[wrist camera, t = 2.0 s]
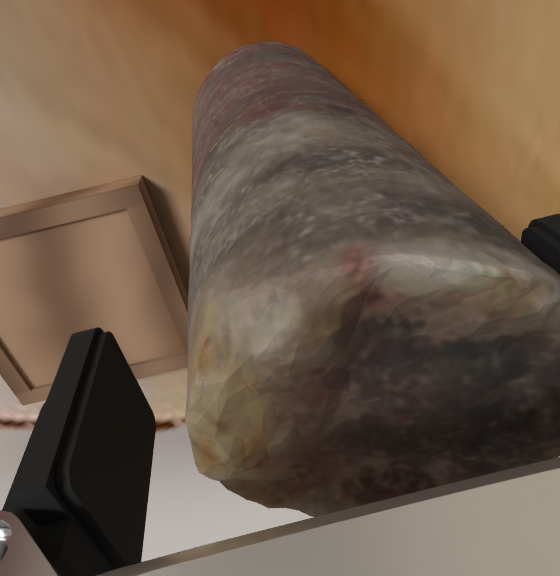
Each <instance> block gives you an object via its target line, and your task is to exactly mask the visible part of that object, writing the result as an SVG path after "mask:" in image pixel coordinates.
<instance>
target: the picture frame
mask: <svg viewBox="0 0 560 576" xmlns="http://www.w3.org/2000/svg"><path fill="white" fill-rule="evenodd" d="M97 327H99V328H101V329H102V330H103V331H104V332H107V331H110V332H111V333H112V334H113V335H114V337H115V339H116V341H117V343H118V345H119V347H120V349H121V351H122V353H123V355H124V357H125V358H126V360H127V362H128V364H129V366H130V368H131V370H132V372H133V374H134V376H135V378H136V379H137V378H141V377H146V376H150V375H154V374H158V373H163V372H167V371H171V370H175V369H180V368H184V367H188V295H187V293H186V290H185V288H184V285H183V282H182V280H181V277H180V274H179V272H178V269H177V267H176V264H175V261H174V259H173V256H172V253H171V251H170V248H169V246H168V243H167V240H166V238H165V235H164V232H163V230H162V227H161V225H160V222H159V219H158V217H157V214H156V211H155V209H154V206H153V204H152V201H151V198H150V196H149V193H148V190H147V188H146V185H145V183H144V180H143V177H142V175H140V176H136V177H132V178H128V179H124V180H120V181H115V182H111V183H107V184H103V185H99V186H95V187H91V188H86V189H82V190H78V191H74V192H70V193H66V194H62V195H57V196H53V197H49V198H45V199H41V200H37V201H33V202H28V203H24V204H20V205H16V206H12V207H8V208H3V209H0V375H1V376H2V378H3V379H4V380H5V382H6V383H7V384H8V386H9V387H10V389H11V390H12V391H13V393H14V394H15V395H16V397H17V398H18V399H19V401H20V402H21V404H22V405H27V404H31V403H35V402H40V401H44V400H47V397H48V395H49V392H50V389H51V387H52V384H53V381H54V379H55V376H56V374H57V371H58V368H59V366H60V363H61V360H62V358H63V355H64V353H65V350H66V347H67V345H68V342H69V339H70V337H71V335H72V334H73V333H76V332H80V331H84V330H88V329H92V328H97Z"/></svg>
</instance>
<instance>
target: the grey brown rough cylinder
mask: <svg viewBox="0 0 560 576" xmlns="http://www.w3.org/2000/svg"><path fill="white" fill-rule="evenodd" d="M185 421H186V425H187V429H188V434H189V437H190V440H191V446H192V451H193V456H194V460H195V464H196V466H197V468H198V471H199V473H201V474H203V475H204V476H206V477H208V478H210V479H213V480H217V481H220V482H221V483H222V484H223V485H224V486H225V487H226V488H227V489H228V490H230V491H232V492H234V493H236V494H238V495H240V496H242V497H243V498H245V499H247V500H250V501H253V502H257V503H259V504H261V505H263V506H265V507H267V508H289V509H295V510H299V511H301V512H303V513H305V514H308V515H309V516H312V517H318V516H322V515H326V514H330V513H334V512H338V511H342V510H346V509H350V508H354V507H358V506H362V505H366V504H370V503H374V502H378V501H382V500H386V499H390V498H394V497H398V496H402V495H406V494H410V493H414V492H418V491H422V490H426V489H430V488H435V487H439V486H443V485H447V484H451V483H455V482H459V481H463V480H467V479H471V478H475V477H479V476H483V475H487V474H491V473H496V472H500V471H504V470H508V469H512V468H516V467H520V466H525V465H529V464H533V463H537V462H541V461H545V460H549V459H554V458H557V457H559V456H560V275H559V274H558V273H557V272H556V271H555V270H554V269H552V268H551V267H550V266H548V265H547V264H545V263H544V262H542V261H541V260H540V259H539V258H538V257H537V256H535V255H534V254H533V253H532V252H531V251H530V250H529V249H528V248H527V247H525V246H524V245H523V244H522V243H521V242H520V241H519V240H518V239H517V238H515V237H514V236H513V235H512V234H511V233H510V232H509V231H508V230H507V229H506V228H505V227H503V226H502V225H501V224H500V223H499V222H498V221H497V220H495V219H494V218H493V217H492V216H491V215H489V214H488V213H487V212H486V211H485V210H483V209H482V208H481V207H480V206H479V205H477V204H476V203H475V202H474V201H473V200H471V199H470V198H469V197H468V196H467V195H466V194H464V193H463V192H462V191H461V190H459V189H458V188H457V187H456V186H455V185H453V184H452V183H451V182H450V181H449V180H448V179H447V178H446V177H445V176H444V175H443V174H442V173H440V172H439V171H438V170H437V169H436V168H435V167H433V166H432V165H431V164H430V163H429V162H428V161H427V160H426V159H425V158H424V157H423V156H422V155H421V154H420V153H419V152H418V151H417V150H416V149H415V148H414V147H413V146H412V145H411V144H409V143H408V142H407V141H405V140H404V139H403V138H401V137H400V136H398V135H397V134H396V133H395V132H394V131H393V130H392V129H391V128H389V127H388V126H387V125H386V124H385V123H384V122H383V121H382V120H381V119H380V118H379V117H378V116H377V115H376V114H375V113H374V112H373V111H371V110H370V109H369V108H368V107H367V106H366V105H365V104H364V103H362V102H361V101H360V100H359V99H358V98H357V97H356V96H355V95H354V94H353V93H352V92H351V91H349V90H348V89H347V88H346V87H345V86H344V85H343V84H342V83H340V82H339V81H338V80H337V79H336V78H335V77H334V76H333V75H332V74H331V73H329V72H328V71H327V70H326V69H325V68H323V67H322V66H321V65H320V64H319V63H318V62H316V61H315V60H314V59H312V58H311V57H310V56H308V55H307V54H306V53H304V52H303V51H301V50H299V49H298V48H295V47H292V46H289V45H286V44H283V43H280V42H259V43H255V44H248V45H245V46H242V47H239V48H237V49H236V50H234V51H232V52H230V53H228V54H227V55H226V56H224V57H223V58H222V59H221V60H220V61H219V62H218V63H217V64H216V66H215V67H214V68H213V69H212V71H211V72H210V73H209V74H208V75H207V77H206V79H205V81H204V82H203V84H202V86H201V88H200V90H199V92H198V95H197V97H196V100H195V104H194V108H193V125H192V208H191V237H190V276H189V292H188V384H187V402H186V420H185Z"/></svg>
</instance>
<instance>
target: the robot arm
mask: <svg viewBox="0 0 560 576" xmlns="http://www.w3.org/2000/svg"><path fill="white" fill-rule="evenodd" d="M521 243H522V244H523V245H524V246H525V247H527V248H528V249H529V250H530V251H531V252H532V253H533V254H534V255H535V256H537V257H538V258H539V259H540V260H541V261H542V262H544V263H545V264H547V265H548V266H550V267H551V268H552V269H554V270H555V271H556V272H557V273H558V274H559V275H560V214H555V215H551V216H547V217H543V218H539V219H535V220H532V221H531V222H530V224H529V226H528V228H526V229H524V230H523V232H522V238H521ZM155 431H156V423H155V417H154V414H153V412H152V410H151V408H150V406H149V404H148V402H147V400H146V398H145V396H144V394H143V392H142V390H141V388H140V386H139V384H138V382H137V380H136V378H135V376H134V374H133V372H132V370H131V368H130V366H129V364H128V362H127V360H126V358H125V357H124V355H123V353H122V351H121V349H120V347H119V345H118V343H117V341H116V339H115V337H114V335H113V334H112V333H111V332H110V331H107V332H104V331H103V330H102V329H101V328H99V327H97V328H92V329H88V330H84V331H80V332H76V333H73V334H72V335H71V337H70V339H69V342H68V345H67V347H66V350H65V353H64V355H63V358H62V360H61V363H60V366H59V368H58V371H57V374H56V376H55V379H54V381H53V384H52V387H51V389H50V392H49V395H48V397H47V400H46V402H45V403H44V405H43V407H42V408H41V411H40V413H39V416H38V419H37V421H36V424H35V426H34V429H33V431H32V434H31V437H30V439H29V442H28V445H27V447H26V450H25V452H24V455H23V457H22V461H21V463H20V465H19V468H18V471H17V473H16V476H15V478H14V481H13V483H12V486H11V489H10V491H9V494H8V496H7V499H6V502H5V504H4V507H3V509H2V511H0V576H560V457H558V458H554V459H549V460H545V461H541V462H537V463H533V464H529V465H525V466H520V467H516V468H512V469H508V470H504V471H500V472H496V473H491V474H487V475H483V476H479V477H475V478H471V479H467V480H463V481H459V482H455V483H451V484H447V485H443V486H439V487H435V488H430V489H426V490H422V491H418V492H414V493H410V494H406V495H402V496H398V497H394V498H390V499H386V500H382V501H378V502H374V503H370V504H366V505H362V506H358V507H354V508H350V509H346V510H342V511H338V512H334V513H330V514H326V515H322V516H318V517H314V518H310V519H306V520H302V521H298V522H294V523H290V524H286V525H282V526H278V527H274V528H270V529H266V530H262V531H258V532H255V533H250V534H247V535H243V536H239V537H235V538H231V539H227V540H223V541H219V542H215V543H211V544H208V545H203V546H199V547H196V548H192V549H189V550H185V551H181V552H177V553H174V554H170V555H167V556H163V557H159V558H155V559H152V560H148V561H144V562H141V557H142V548H143V540H144V531H145V521H146V512H147V503H148V494H149V485H150V476H151V467H152V458H153V449H154V440H155Z"/></svg>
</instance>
